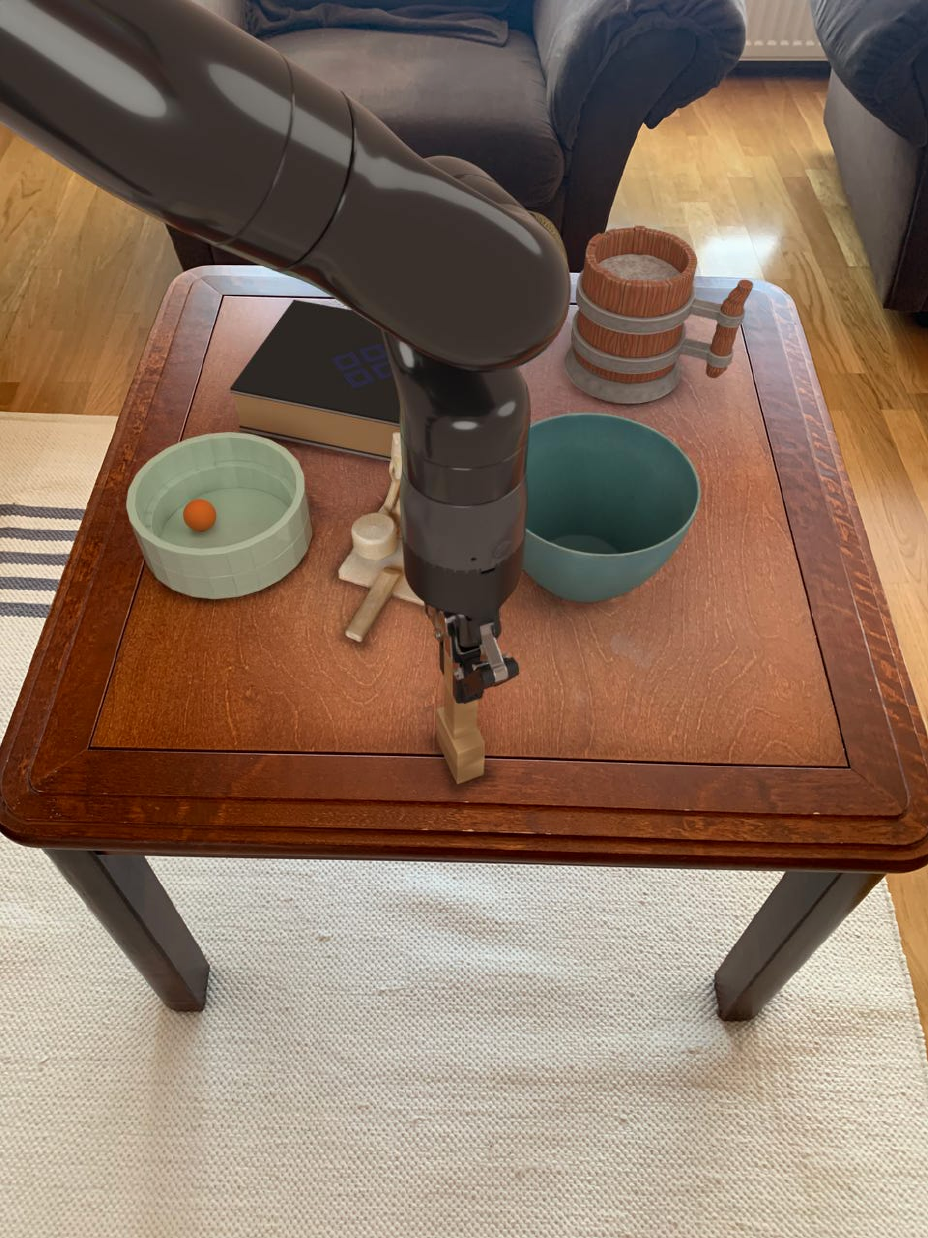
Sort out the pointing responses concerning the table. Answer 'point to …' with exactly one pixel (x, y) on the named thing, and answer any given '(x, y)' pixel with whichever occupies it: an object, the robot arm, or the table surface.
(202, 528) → the ball
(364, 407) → the book
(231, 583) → the bowl
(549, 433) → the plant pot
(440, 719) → the stick
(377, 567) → the wooden toy
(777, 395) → the table surface
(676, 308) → the mug
